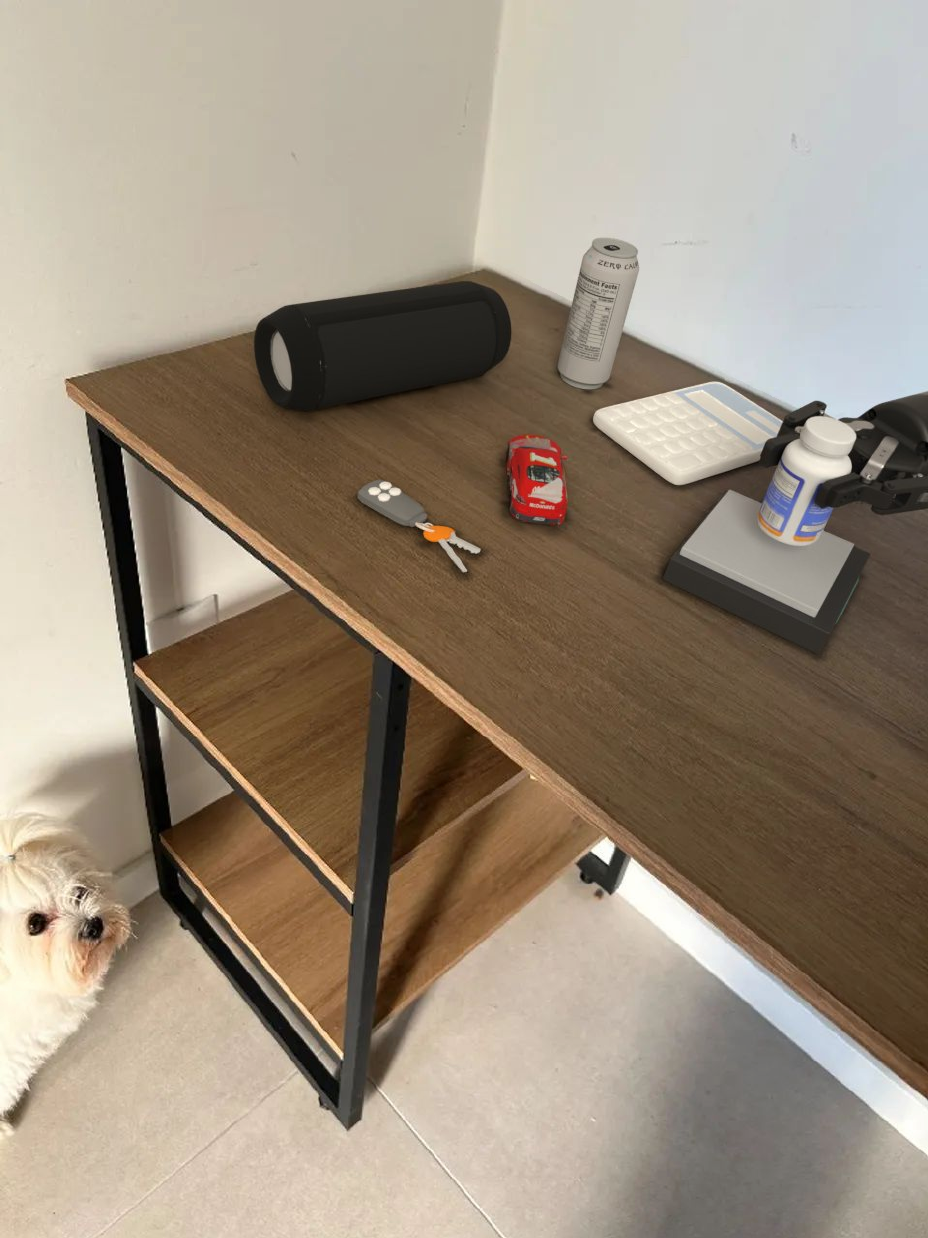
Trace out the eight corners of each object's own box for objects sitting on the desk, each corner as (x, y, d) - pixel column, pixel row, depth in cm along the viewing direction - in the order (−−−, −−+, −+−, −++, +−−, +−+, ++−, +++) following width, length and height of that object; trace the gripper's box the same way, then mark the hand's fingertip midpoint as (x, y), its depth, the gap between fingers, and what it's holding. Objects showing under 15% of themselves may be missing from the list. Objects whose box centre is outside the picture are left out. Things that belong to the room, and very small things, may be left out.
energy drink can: (618, 385, 106) (655, 253, 96) (582, 396, 102) (616, 261, 93) (581, 361, 109) (613, 232, 99) (544, 371, 106) (574, 238, 96)
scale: (860, 574, 85) (876, 546, 83) (819, 656, 75) (835, 627, 73) (717, 510, 89) (729, 482, 87) (661, 579, 80) (672, 550, 78)
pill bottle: (820, 521, 80) (867, 422, 74) (816, 556, 76) (866, 454, 70) (758, 503, 81) (799, 403, 75) (751, 535, 77) (795, 434, 71)
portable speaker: (455, 349, 106) (468, 262, 100) (507, 389, 101) (525, 301, 94) (249, 387, 93) (249, 290, 87) (296, 436, 88) (300, 336, 81)
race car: (504, 448, 92) (511, 412, 89) (557, 456, 92) (566, 421, 90) (504, 526, 82) (512, 488, 79) (564, 535, 82) (574, 497, 80)
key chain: (351, 502, 81) (353, 487, 80) (381, 487, 84) (383, 473, 83) (463, 575, 76) (466, 561, 75) (492, 557, 78) (495, 543, 77)
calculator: (586, 422, 98) (591, 406, 97) (714, 390, 108) (719, 376, 107) (674, 490, 91) (680, 473, 90) (802, 449, 101) (809, 433, 100)
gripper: (874, 360, 83) (744, 389, 75) (1015, 441, 75) (885, 484, 67) (840, 432, 88) (715, 467, 80) (968, 517, 80) (842, 565, 72)
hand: (793, 475), depth 74 cm, fingers closed on pill bottle, 5 cm apart
